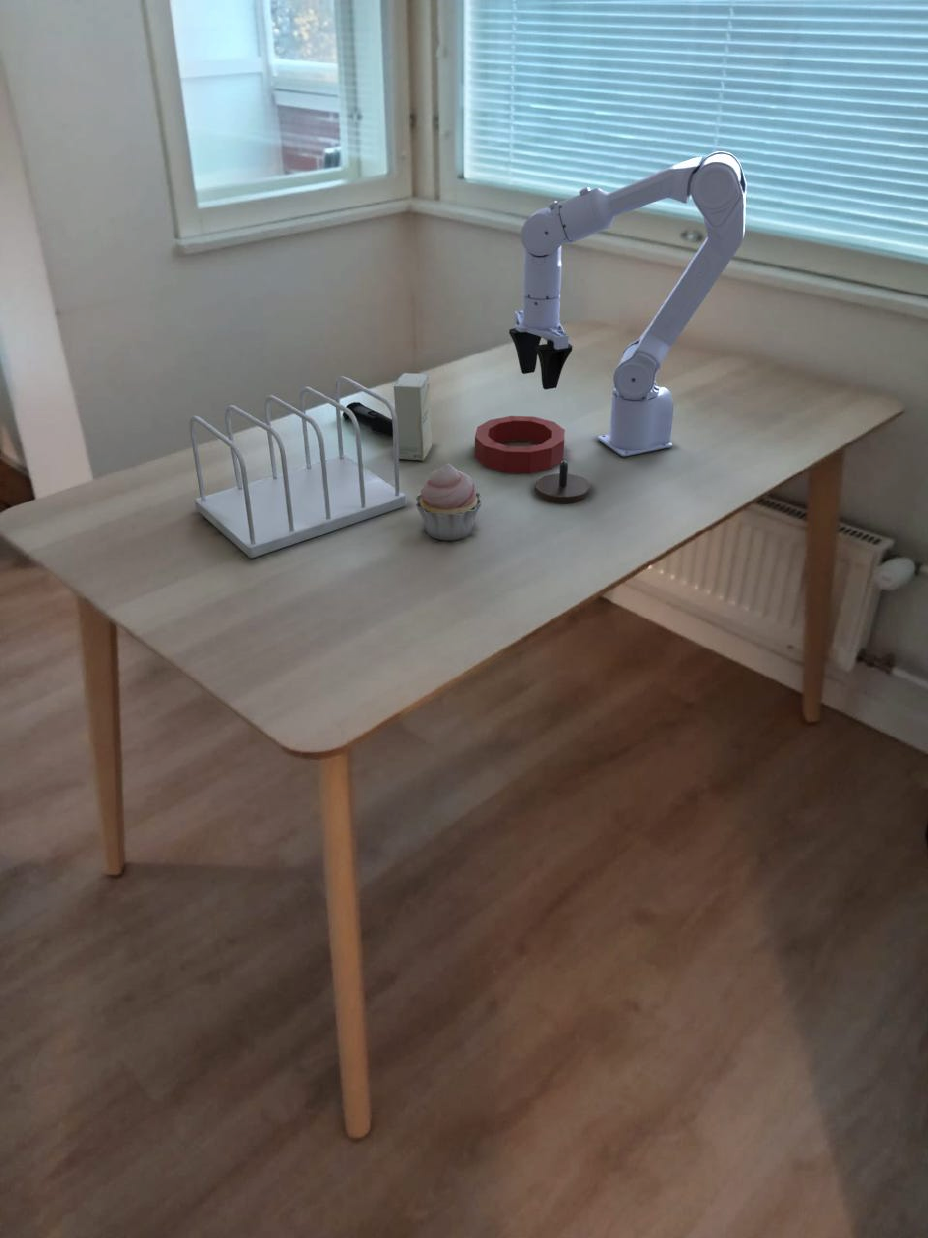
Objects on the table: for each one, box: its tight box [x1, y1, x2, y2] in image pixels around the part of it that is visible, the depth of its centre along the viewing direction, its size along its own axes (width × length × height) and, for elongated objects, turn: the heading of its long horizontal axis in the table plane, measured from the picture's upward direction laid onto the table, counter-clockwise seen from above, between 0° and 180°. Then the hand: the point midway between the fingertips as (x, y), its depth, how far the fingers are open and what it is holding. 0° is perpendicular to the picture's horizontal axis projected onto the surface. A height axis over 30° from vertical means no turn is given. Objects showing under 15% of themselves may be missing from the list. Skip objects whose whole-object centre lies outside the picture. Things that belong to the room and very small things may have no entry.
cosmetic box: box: [393, 372, 433, 461], centre depth 150 cm, size 6×4×12 cm
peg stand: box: [535, 460, 591, 504], centre depth 140 cm, size 8×8×5 cm
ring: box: [474, 415, 566, 475], centre depth 151 cm, size 14×14×4 cm
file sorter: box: [188, 375, 407, 559], centre depth 133 cm, size 25×17×16 cm
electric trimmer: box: [342, 401, 393, 438], centre depth 160 cm, size 4×16×3 cm, turn 42°
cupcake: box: [414, 462, 483, 542], centre depth 129 cm, size 9×9×10 cm
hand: (538, 380), depth 153 cm, fingers open, 7 cm apart
